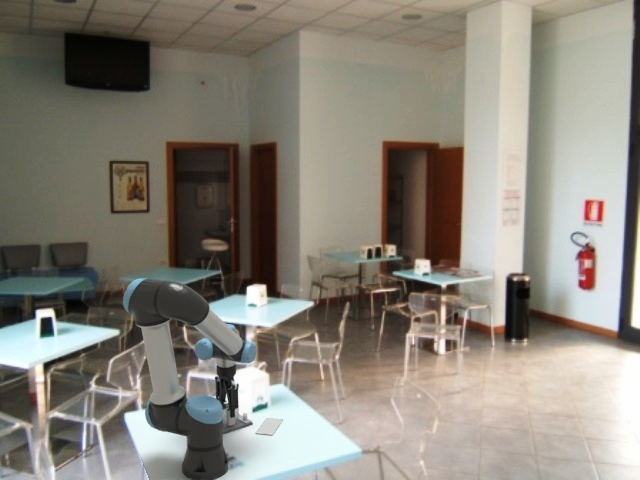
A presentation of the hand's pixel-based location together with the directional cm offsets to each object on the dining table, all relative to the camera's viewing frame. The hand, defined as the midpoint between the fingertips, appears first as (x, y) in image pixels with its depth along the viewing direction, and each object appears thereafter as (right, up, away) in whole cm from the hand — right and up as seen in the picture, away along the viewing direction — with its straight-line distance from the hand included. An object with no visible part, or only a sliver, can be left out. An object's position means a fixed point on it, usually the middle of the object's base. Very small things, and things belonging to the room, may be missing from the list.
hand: (227, 422), depth 227 cm
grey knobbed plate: (0, -1, 0) cm, 1 cm away
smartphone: (+17, -2, -1) cm, 17 cm away
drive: (0, 0, 0) cm, 0 cm away
